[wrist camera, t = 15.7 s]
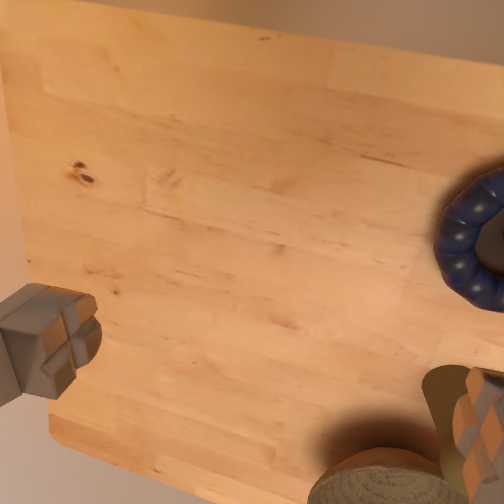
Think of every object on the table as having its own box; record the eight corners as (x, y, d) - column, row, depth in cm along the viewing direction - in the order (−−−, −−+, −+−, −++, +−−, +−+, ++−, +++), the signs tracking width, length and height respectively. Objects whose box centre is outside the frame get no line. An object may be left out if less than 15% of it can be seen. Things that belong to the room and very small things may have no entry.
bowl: (445, 524, 50) (458, 598, 43) (306, 482, 54) (297, 544, 47) (496, 429, 42) (522, 503, 35) (327, 388, 46) (320, 446, 39)
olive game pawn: (429, 359, 40) (449, 453, 31) (493, 372, 39) (534, 474, 29) (415, 400, 43) (429, 497, 33) (474, 414, 42) (506, 519, 32)
